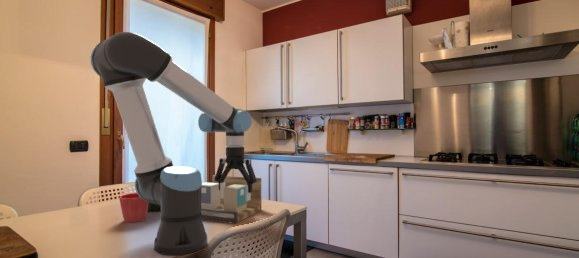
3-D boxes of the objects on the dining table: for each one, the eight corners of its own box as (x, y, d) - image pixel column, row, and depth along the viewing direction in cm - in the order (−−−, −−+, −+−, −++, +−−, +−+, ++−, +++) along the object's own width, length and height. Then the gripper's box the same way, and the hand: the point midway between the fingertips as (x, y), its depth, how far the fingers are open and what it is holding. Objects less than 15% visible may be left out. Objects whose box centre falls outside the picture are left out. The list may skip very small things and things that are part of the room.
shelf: (236, 223, 113) (235, 186, 113) (182, 216, 122) (182, 182, 122) (261, 209, 133) (261, 178, 133) (213, 204, 142) (213, 175, 142)
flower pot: (112, 221, 116) (113, 196, 116) (138, 214, 126) (138, 191, 126) (130, 225, 111) (130, 199, 111) (155, 218, 121) (156, 193, 121)
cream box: (211, 209, 125) (211, 185, 125) (195, 208, 128) (195, 184, 128) (220, 206, 131) (220, 183, 131) (205, 204, 134) (205, 182, 134)
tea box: (237, 213, 119) (237, 188, 119) (223, 212, 121) (223, 187, 121) (247, 209, 126) (247, 185, 126) (234, 207, 129) (234, 184, 129)
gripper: (265, 146, 123) (265, 199, 123) (216, 145, 132) (216, 195, 132) (256, 147, 116) (256, 203, 116) (205, 146, 125) (205, 198, 125)
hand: (235, 199), depth 124 cm, fingers open, 11 cm apart
